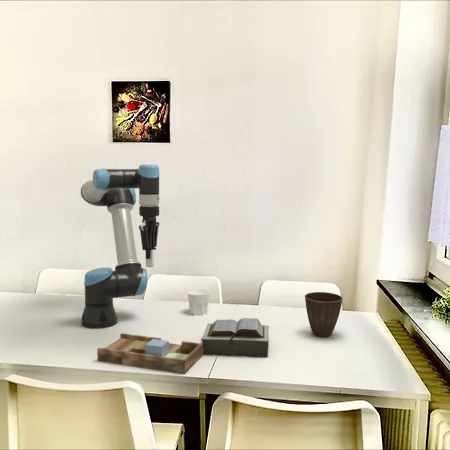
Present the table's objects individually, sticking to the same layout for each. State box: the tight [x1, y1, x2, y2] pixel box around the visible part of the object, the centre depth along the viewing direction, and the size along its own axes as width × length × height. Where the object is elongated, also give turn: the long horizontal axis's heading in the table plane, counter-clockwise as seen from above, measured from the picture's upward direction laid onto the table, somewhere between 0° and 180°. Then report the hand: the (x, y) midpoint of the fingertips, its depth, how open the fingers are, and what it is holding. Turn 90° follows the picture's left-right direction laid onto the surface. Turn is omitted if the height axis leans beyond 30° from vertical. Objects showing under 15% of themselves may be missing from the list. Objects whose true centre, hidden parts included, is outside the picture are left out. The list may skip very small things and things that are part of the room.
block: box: [145, 339, 170, 357], centre depth 176 cm, size 6×6×4 cm
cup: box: [187, 289, 211, 317], centre depth 235 cm, size 10×10×10 cm
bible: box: [201, 317, 270, 358], centre depth 193 cm, size 23×27×10 cm
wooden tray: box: [96, 332, 204, 375], centre depth 181 cm, size 33×17×4 cm, turn 72°
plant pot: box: [304, 291, 344, 339], centre depth 207 cm, size 15×15×16 cm
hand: (149, 266), depth 196 cm, fingers closed
